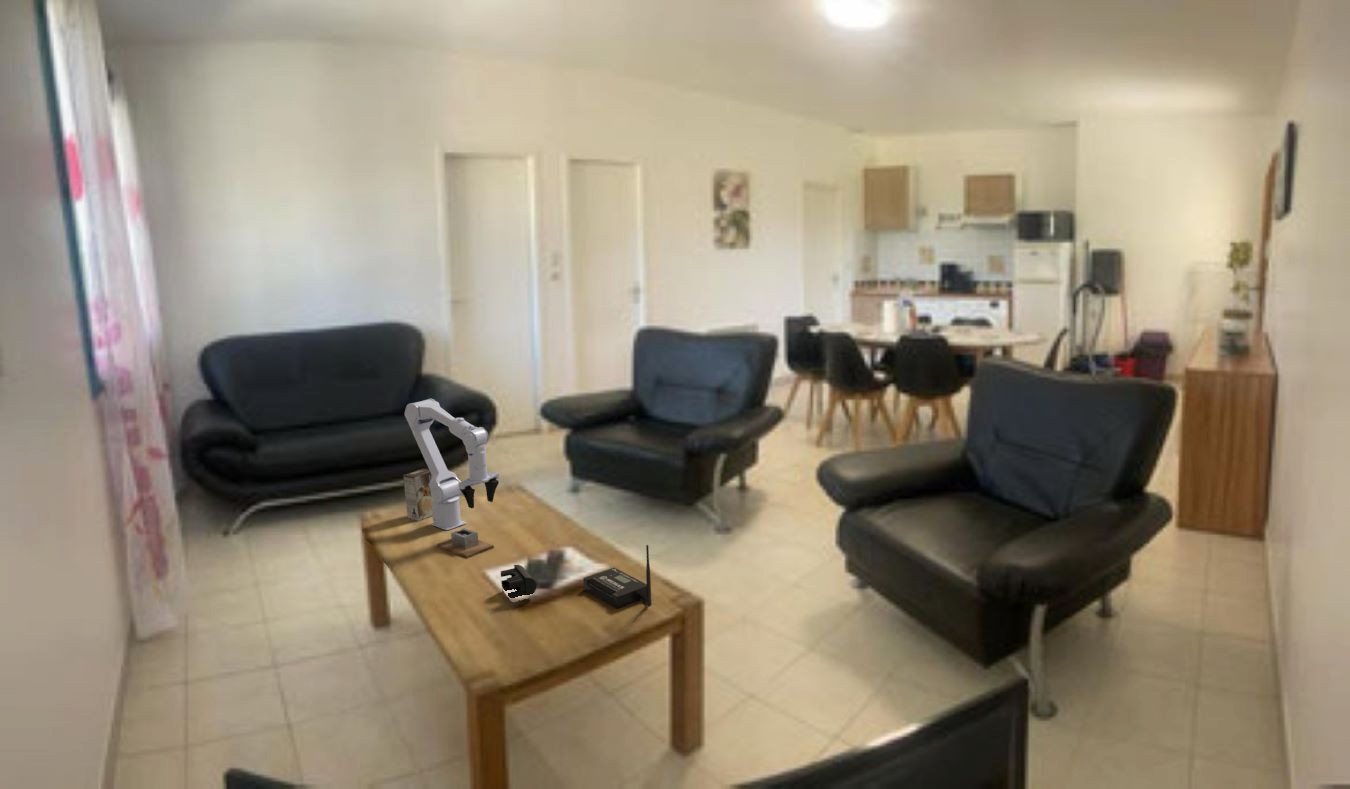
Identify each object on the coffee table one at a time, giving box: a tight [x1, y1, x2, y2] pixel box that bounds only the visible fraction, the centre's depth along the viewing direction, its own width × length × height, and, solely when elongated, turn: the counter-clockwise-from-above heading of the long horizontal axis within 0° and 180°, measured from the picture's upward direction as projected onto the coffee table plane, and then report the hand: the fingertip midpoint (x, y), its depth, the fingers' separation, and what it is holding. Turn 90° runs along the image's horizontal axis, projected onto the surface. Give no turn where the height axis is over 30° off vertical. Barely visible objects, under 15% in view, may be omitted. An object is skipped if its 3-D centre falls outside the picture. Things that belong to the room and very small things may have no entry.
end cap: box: [500, 564, 537, 598], centre depth 218 cm, size 10×7×7 cm
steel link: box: [450, 527, 479, 550], centre depth 253 cm, size 7×5×4 cm
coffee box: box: [402, 468, 434, 522], centre depth 282 cm, size 9×6×16 cm
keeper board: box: [436, 534, 495, 559], centre depth 253 cm, size 16×10×4 cm, turn 50°
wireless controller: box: [582, 544, 653, 610], centre depth 214 cm, size 20×14×17 cm
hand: (480, 504), depth 263 cm, fingers open, 7 cm apart
